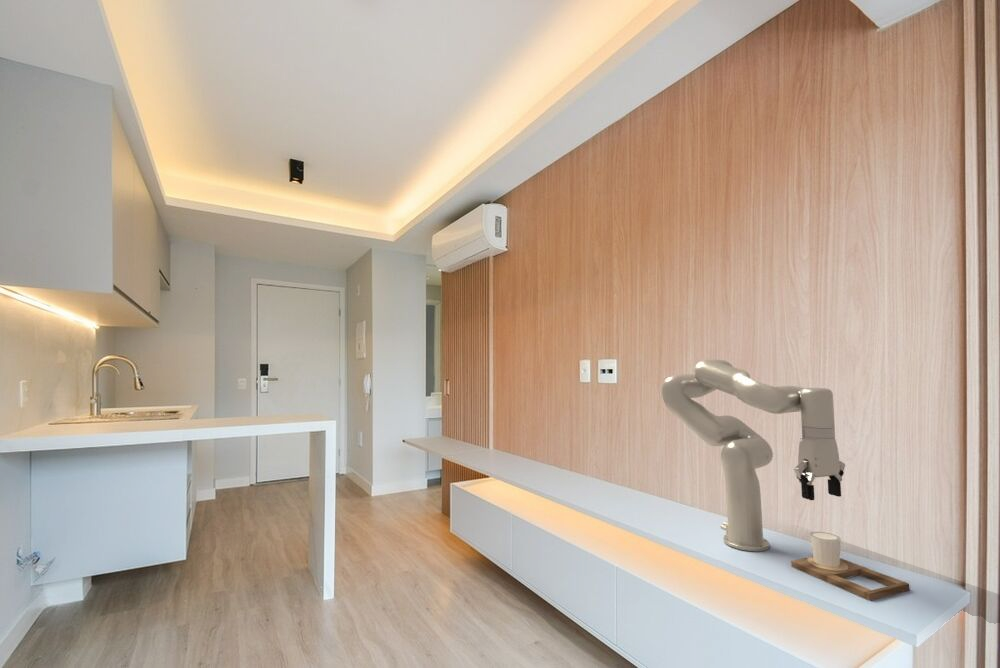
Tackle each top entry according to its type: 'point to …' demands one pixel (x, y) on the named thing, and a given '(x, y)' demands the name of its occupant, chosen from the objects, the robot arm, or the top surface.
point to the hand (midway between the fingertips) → (821, 497)
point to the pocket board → (848, 570)
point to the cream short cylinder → (825, 548)
